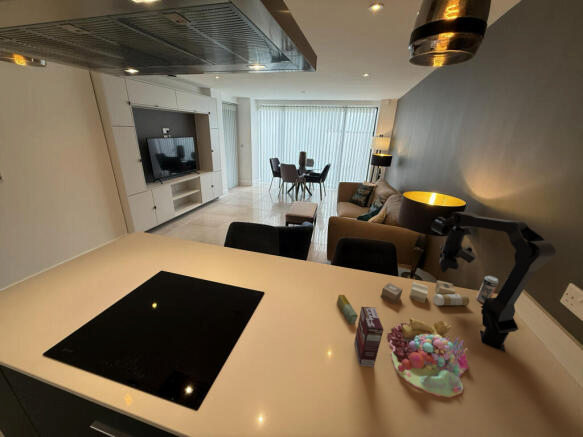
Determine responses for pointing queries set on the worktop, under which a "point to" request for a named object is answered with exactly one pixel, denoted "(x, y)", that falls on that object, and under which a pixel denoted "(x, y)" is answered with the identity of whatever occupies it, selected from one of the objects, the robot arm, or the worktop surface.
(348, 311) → the medication box
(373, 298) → the worktop surface
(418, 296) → the plain birch block
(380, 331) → the supplement box
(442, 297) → the granule seasoning jar
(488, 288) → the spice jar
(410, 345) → the pastel sphere sculpture
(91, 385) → the worktop surface
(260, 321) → the worktop surface
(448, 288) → the oak block marked
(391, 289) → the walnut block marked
